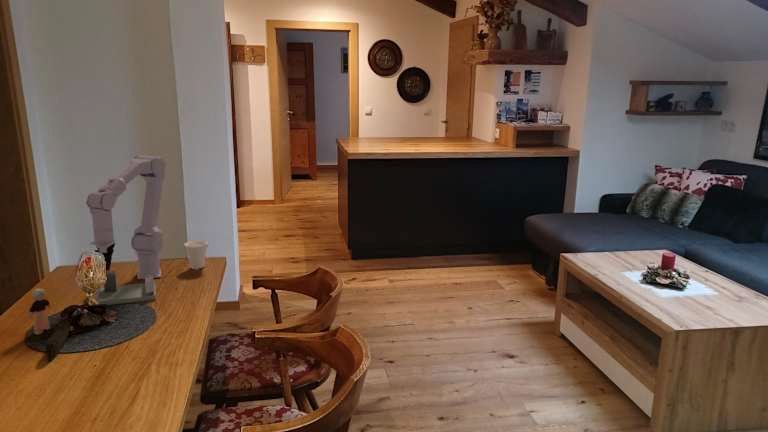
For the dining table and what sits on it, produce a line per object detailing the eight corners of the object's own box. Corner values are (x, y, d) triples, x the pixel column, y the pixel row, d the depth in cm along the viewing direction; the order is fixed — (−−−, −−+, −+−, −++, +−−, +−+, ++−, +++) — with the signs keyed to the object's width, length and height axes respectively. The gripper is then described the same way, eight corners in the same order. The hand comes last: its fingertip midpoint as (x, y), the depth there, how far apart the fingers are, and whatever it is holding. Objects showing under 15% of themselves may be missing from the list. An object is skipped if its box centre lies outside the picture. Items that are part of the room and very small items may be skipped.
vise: (91, 292, 186) (90, 279, 185) (155, 286, 194) (154, 273, 193) (87, 306, 175) (86, 292, 174) (155, 299, 182) (155, 285, 181)
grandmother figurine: (41, 336, 154) (36, 293, 151) (27, 335, 154) (22, 293, 151) (57, 324, 162) (53, 283, 159) (44, 324, 162) (39, 283, 159)
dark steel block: (105, 288, 186) (104, 271, 185) (117, 287, 188) (115, 270, 186) (104, 292, 183) (103, 275, 181) (116, 291, 184) (115, 274, 183)
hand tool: (59, 332, 158) (57, 317, 157) (74, 331, 159) (73, 316, 158) (37, 364, 140) (34, 348, 139) (54, 363, 141) (52, 346, 140)
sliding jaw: (145, 283, 191) (145, 275, 190) (153, 282, 192) (153, 274, 191) (145, 293, 182) (145, 285, 181) (153, 293, 183) (153, 284, 182)
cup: (184, 264, 217) (183, 240, 215) (209, 263, 220) (208, 239, 218) (183, 272, 209) (182, 246, 207) (209, 270, 212) (208, 245, 209)
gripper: (91, 223, 185) (95, 262, 188) (87, 234, 172) (90, 276, 175) (114, 222, 188) (117, 260, 191) (112, 233, 175) (115, 273, 178)
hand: (106, 267), depth 183 cm, fingers open, 5 cm apart
